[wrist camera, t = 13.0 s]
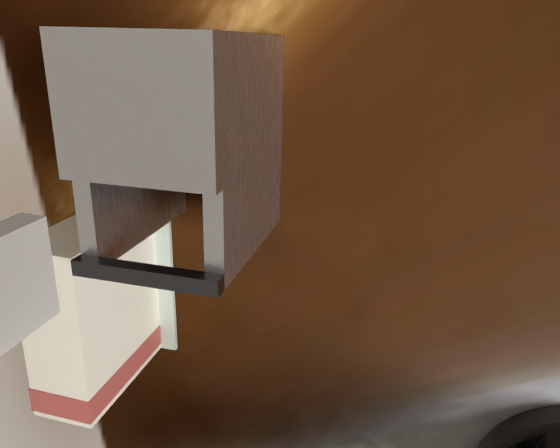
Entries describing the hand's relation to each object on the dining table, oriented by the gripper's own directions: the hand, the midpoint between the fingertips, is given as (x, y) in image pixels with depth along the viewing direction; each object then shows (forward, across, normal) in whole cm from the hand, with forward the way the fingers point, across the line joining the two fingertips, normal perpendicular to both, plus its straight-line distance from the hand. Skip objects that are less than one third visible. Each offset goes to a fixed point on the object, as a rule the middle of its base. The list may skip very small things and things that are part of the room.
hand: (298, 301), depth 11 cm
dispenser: (+27, +12, +1) cm, 29 cm away
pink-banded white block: (+26, +21, +15) cm, 37 cm away
